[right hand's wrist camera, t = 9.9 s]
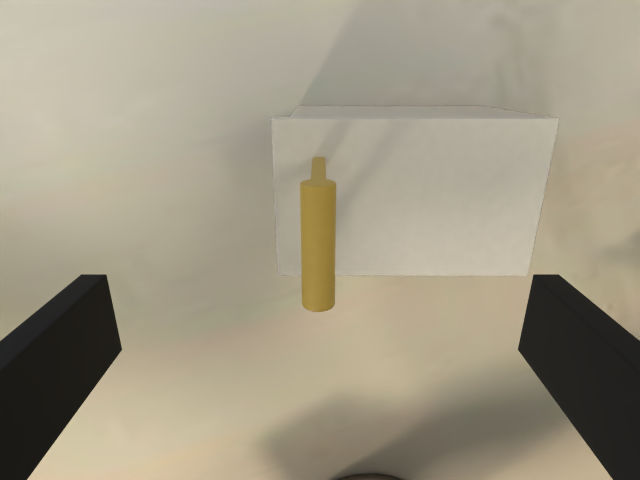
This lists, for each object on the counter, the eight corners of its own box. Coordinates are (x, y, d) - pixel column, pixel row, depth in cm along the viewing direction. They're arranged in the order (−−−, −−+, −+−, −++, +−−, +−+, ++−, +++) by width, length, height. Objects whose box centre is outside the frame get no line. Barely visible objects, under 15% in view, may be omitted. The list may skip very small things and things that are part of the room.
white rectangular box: (279, 267, 27) (261, 348, 19) (273, 116, 24) (248, 136, 16) (518, 267, 27) (604, 349, 19) (548, 116, 24) (668, 136, 16)
